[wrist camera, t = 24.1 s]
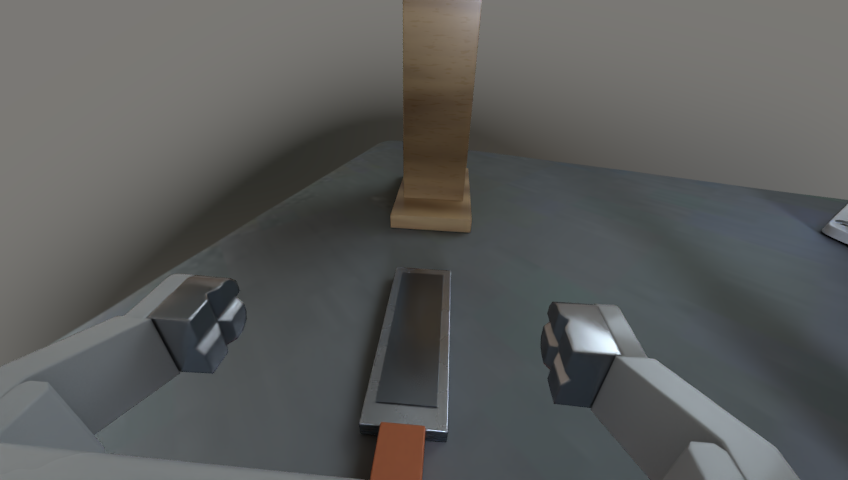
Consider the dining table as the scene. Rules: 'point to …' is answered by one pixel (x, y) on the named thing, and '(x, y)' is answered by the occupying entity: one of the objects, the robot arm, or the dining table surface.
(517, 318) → the dining table surface
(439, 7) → the shelf stand
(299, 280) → the dining table surface
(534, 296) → the dining table surface
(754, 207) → the dining table surface
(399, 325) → the grater
